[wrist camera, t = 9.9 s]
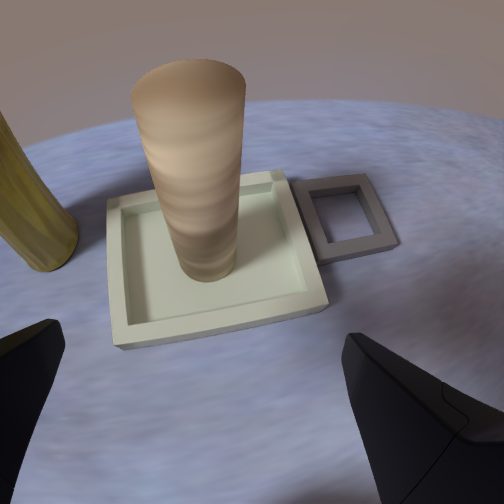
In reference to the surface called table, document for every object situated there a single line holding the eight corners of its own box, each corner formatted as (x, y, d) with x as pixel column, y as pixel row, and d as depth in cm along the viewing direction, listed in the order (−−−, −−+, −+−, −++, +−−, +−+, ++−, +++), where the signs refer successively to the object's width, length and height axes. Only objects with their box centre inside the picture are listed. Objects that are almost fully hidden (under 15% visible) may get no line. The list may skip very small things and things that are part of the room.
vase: (68, 202, 26) (1, 86, 14) (88, 248, 25) (5, 127, 12) (19, 235, 25) (-63, 137, 12) (35, 285, 23) (-71, 192, 10)
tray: (320, 311, 24) (328, 303, 22) (123, 350, 21) (113, 345, 19) (279, 184, 29) (282, 169, 27) (114, 213, 26) (106, 199, 24)
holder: (392, 249, 26) (398, 243, 25) (315, 266, 25) (319, 259, 24) (361, 181, 30) (365, 173, 28) (288, 189, 28) (290, 181, 27)
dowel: (247, 264, 24) (268, 97, 11) (195, 293, 23) (154, 139, 9) (218, 221, 26) (212, 50, 12) (169, 246, 24) (118, 81, 11)
